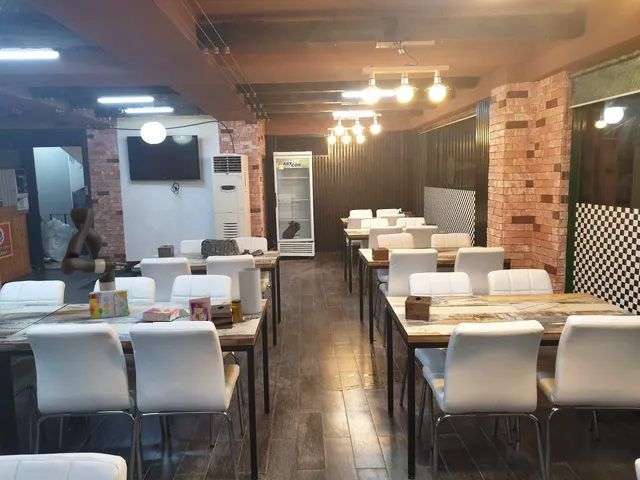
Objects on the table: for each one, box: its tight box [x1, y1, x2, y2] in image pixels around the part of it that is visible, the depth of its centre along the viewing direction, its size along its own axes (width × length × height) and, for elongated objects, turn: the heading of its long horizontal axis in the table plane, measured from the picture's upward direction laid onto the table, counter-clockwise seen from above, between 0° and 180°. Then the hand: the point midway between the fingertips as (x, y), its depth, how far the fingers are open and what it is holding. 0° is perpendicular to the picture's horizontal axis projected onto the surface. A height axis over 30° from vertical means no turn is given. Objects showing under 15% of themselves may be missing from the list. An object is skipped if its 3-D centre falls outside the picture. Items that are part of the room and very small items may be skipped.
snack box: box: [88, 288, 131, 320], centre depth 295 cm, size 21×6×15 cm, turn 100°
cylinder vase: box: [237, 267, 263, 315], centre depth 292 cm, size 12×12×25 cm
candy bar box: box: [142, 307, 180, 322], centre depth 283 cm, size 11×5×16 cm
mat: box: [176, 308, 190, 319], centre depth 292 cm, size 20×17×1 cm
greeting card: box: [188, 296, 212, 322], centre depth 267 cm, size 11×7×15 cm, turn 82°
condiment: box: [230, 298, 249, 325], centre depth 274 cm, size 7×8×12 cm
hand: (133, 265), depth 285 cm, fingers closed
